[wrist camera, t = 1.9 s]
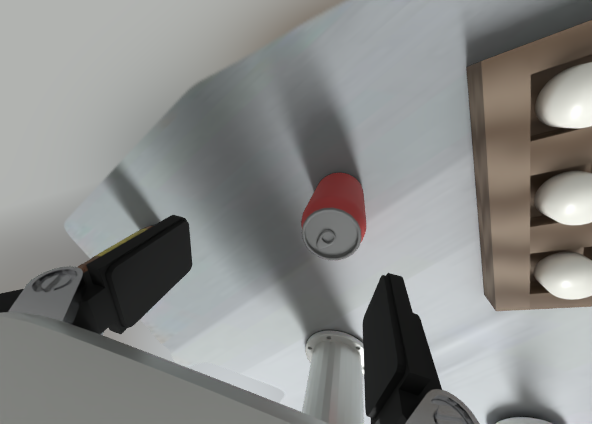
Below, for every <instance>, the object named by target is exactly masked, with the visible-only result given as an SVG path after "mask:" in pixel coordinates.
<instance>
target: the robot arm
mask: <svg viewBox="0 0 592 424" xmlns="http://www.w3.org/2000/svg"><path fill="white" fill-rule="evenodd" d="M86 266H87V269H88V270H87V271H86V272H84V273H83V271H82V270H81V269H80V268H78V267H71V266H69V267H60V268H56V269H52V270H50V271H47V272H44V273H43V274H40V275H38V276H37V277H35V278H34V279H32V280H31V281H30V282H29V283H28V284H27V285H26V287H25V288H24V289H21V290H16V291H11V292H6V293H1V294H0V424H364V410H363V375H364V379H365V409H366V415H367V416H368V417H371V424H479V422H478V421H477V419H476V418H475V416H474V415H473V413H472V412H471V411H470V409H469V408H468V407H467V406H466V405H465V404H464V403H463V402H462V401H461V400H459V399H458V398H457V397H456V396H454V395H452V394H450V393H449V392H447V391H444V390H442V388H441V385H440V382H439V378H438V375H437V372H436V369H435V365H434V362H433V359H432V356H431V352H430V349H429V346H428V343H427V339H426V336H425V333H424V330H423V326H422V323H421V320H420V318H419V316H418V315H417V314H414V313H413V312H412V309H411V305H410V301H409V298H408V294H407V291H406V287H405V284H404V280H403V277H401V276H397V275H393V274H390V273H388V274H387V275H386V276H384V275H382V276H381V278H380V280H379V283H378V285H377V287H376V290H375V292H374V295H373V297H372V299H371V302H370V304H369V306H368V309H367V311H366V313H365V316H364V319H363V343H362V342H361V341H359V340H358V339H357V338H355V337H353V336H351V335H349V334H347V333H343V332H340V331H321V332H318V333H315V334H314V335H312V336H311V337H310V338H309V339H308V341H307V344H306V349H305V352H306V356H307V358H308V360H309V361H310V363H311V365H310V370H309V376H308V381H307V387H306V393H305V398H304V404H303V409H302V412H300V411H297V410H295V409H292V408H290V407H287V406H284V405H282V404H279V403H277V402H274V401H271V400H269V399H267V398H264V397H261V396H259V395H256V394H254V393H251V392H249V391H246V390H243V389H241V388H238V387H236V386H233V385H231V384H228V383H225V382H223V381H220V380H218V379H215V378H212V377H210V376H207V375H205V374H202V373H200V372H197V371H194V370H192V369H189V368H187V367H184V366H181V365H179V364H176V363H174V362H171V361H168V360H166V359H163V358H161V357H158V356H155V355H153V354H150V353H147V352H144V351H142V350H139V349H137V348H134V347H131V346H129V345H126V344H124V343H121V342H118V341H116V340H113V339H110V338H108V337H105V336H103V332H104V331H105V330H106V329H107V328H108V327H109V329H110V330H111V331H113V332H116V333H119V334H122V333H123V332H124V331H125V330H126V329H127V328H129V327H132V326H133V325H134V324H135V323H136V322H138V320H140V319H141V318H142V317H143V316H144V315H145V314H146V313H147V312H148V311H149V310H150V309H151V308H152V307H153V306H154V305H155V304H156V303H157V302H158V301H159V300H160V299H161V298H162V297H163V296H164V295H165V294H166V293H167V292H168V291H169V290H170V289H171V288H172V287H173V286H174V285H176V284H177V283H178V282H179V281H180V280H181V279H182V278H183V277H184V276H185V275H186V274H187V273H188V272H189V271H190V269H191V267H192V256H191V244H190V232H189V223H188V222H187V220H186V219H185V218H183V217H179V216H176V215H172V216H170V217H168V218H166V219H164V220H163V221H161V222H159V223H158V224H156V225H154V226H152V227H151V228H149V229H147V230H145V231H144V232H142V233H140V234H138V235H137V236H135V237H133V238H132V239H130V240H128V241H126V242H125V243H123V244H121V245H119V246H118V247H116V248H114V249H113V250H111V251H109V252H107V253H106V254H104V255H102V256H100V257H99V258H97V259H95V260H93V261H92V262H90V263H88V264H87V265H86Z"/></svg>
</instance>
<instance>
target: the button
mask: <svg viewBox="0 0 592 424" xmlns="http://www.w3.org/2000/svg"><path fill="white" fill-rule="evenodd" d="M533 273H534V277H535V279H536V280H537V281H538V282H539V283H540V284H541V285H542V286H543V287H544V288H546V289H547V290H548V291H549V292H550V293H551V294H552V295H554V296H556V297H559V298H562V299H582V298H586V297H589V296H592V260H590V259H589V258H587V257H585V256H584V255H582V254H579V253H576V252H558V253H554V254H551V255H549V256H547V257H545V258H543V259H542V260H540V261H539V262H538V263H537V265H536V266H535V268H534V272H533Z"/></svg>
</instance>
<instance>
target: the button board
mask: <svg viewBox="0 0 592 424" xmlns="http://www.w3.org/2000/svg"><path fill="white" fill-rule="evenodd" d="M590 62H592V20H590V21H587V22H585V23H582V24H579V25H577V26H574V27H571V28H569V29H566V30H563V31H561V32H558V33H555V34H553V35H550V36H547V37H544V38H542V39H539V40H536V41H534V42H531V43H528V44H526V45H523V46H520V47H518V48H515V49H512V50H510V51H507V52H504V53H502V54H499V55H496V56H494V57H491V58H488V59H485V60H483V61H480V62H478V63H475V64H473V65H471V66H468V67H467V79H468V92H469V105H470V118H471V130H472V143H473V156H474V169H475V181H476V194H477V207H478V220H479V232H480V245H481V258H482V271H483V283H484V295H485V296H486V298H487V299H488V301H489V302H490V303H491V305H492V306H493V308H494V309H495V310H496V311H510V310H530V309H550V308H570V307H590V306H592V296H589V297H586V298H582V299H562V298H559V297H556V296H554V295H552V294H551V293H550V292H549V291H548V290H547V289H546V288H544V287H543V286H542V285H541V284H540V283H539V282H538V281H537V280H536V279H535V277H534V273H533V272H534V268H535V266H536V265H537V263H538V262H539V261H540V260H542V259H543V258H545V257H547V256H549V255H551V254H554V253H558V252H576V253H579V254H582V255H584V256H585V257H587V258H589V259H590V260H592V222H591V223H588V224H583V225H566V224H562V223H559V222H557V221H555V220H553V219H552V218H550V217H548V216H546V215H544V214H542V213H541V212H539V211H538V210H537V208H536V206H535V203H534V198H535V194H536V192H537V190H538V189H539V187H540V186H541V185H542V184H543V183H544V182H546V181H547V180H548V179H550V178H551V177H553V176H555V175H558V174H560V173H563V172H568V171H584V172H588V173H592V126H590V127H586V128H562V127H551V126H548V125H545V124H544V123H542V122H541V121H540V120H539V119H538V117H537V115H536V112H535V104H536V100H537V97H538V95H539V93H540V91H541V90H542V88H543V87H544V86H545V85H546V83H547V82H548V81H549V80H551V79H552V78H553V77H554V76H555V75H557V74H558V73H560V72H562V71H563V70H566V69H568V68H570V67H573V66H576V65H581V64H585V63H590Z"/></svg>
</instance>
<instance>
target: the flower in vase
mask: <svg viewBox="0 0 592 424" xmlns="http://www.w3.org/2000/svg"><path fill="white" fill-rule="evenodd" d="M496 424H553V423H550V422H548V421H544V420H541V419H536V418H528V417H513V418H507V419H504V420H501V421H499V422H497V423H496Z"/></svg>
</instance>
